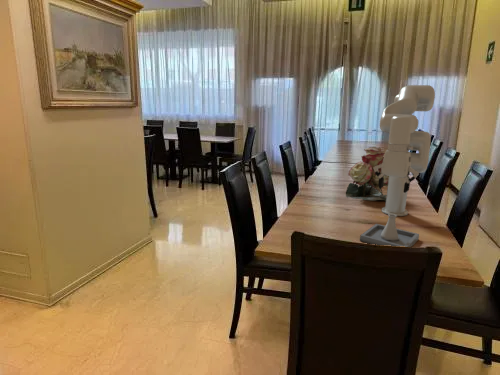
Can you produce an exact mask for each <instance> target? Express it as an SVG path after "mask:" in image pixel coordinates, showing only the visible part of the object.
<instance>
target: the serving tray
mask: <svg viewBox="0 0 500 375" xmlns="http://www.w3.org/2000/svg"><path fill="white" fill-rule="evenodd" d="M385 226H386V225H384V224H379V223H375V224H374V225H372V226H371V227H370V228H368V229H367V230H365V231H363V233H361V235H360V236H359V242H363V243H366V244H369V243H370V244H369V245H372V244H377V245H391V246H405V247H411V246H412V247H413V246H414V245H415V244H416V243H417V242H418V241H419V238H420V233H416V232H412V231H409V230H408V231H407V230H404V229H400V228H397V227H396V229H397V234H398V237H399V240H395V241H391V240H385V239H383V238H381V233H382V231H383V230H384V228H385ZM412 247H411V248H412Z"/></svg>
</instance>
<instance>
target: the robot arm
mask: <svg viewBox="0 0 500 375" xmlns="http://www.w3.org/2000/svg"><path fill="white" fill-rule="evenodd" d="M435 95H436V93H435V88H434V87H433V85H432V86H431V85H430V84H429V85H428V84H420V85H419V84H415V85H414V84H411V85H406V86H403V87H402V88H401V89H400V91H399V93H398V94H397V95H396V96H394V99H393V103H391V104H389V105H387V106H386V107H385V108H384V109H383V111H382V113H381V117H380V119H379V120H380V121H379V129H380V131H382V132H383V133H389V136H388V143H387V144H388V145H387V149H386V150H385V152H384V153H385V154H384V156H383V157H384V159H383V163H382V164H381V165H378V166H375V167H373V169H374V171H375V174H376V175H377V176H378V178H379V182H378V186H379V188H381V189H382V188H384V186H383V184H384V178H383V176H385V175H387V176H389V180H388V187H387V189H386V195H387V196H386V201H385V205H384V206H383V207H381V212H382V213H383V214H386V215H388V214H394V215H396V216H397V217H404V216H405V217H406V216H408V214H409V211H408V210H407V209H406V207H407V198H408V192H409V190H410V187H411V186H410V185H411V182H413V181H414V180H415V179H416V178H417V177H418V176H419V175H420V174H422V173H425V172H426V171H427V169H428V163H429V159H430V149H431V141H432V140H431V139H432V138H431V134H430V133H429V132H428V131H425V130H424V131H422V130H418V127H419V119H418V117H417V115H414V113H415V112H430V111H431V110H432V109H433V107H434V104H435V99H436V97H435ZM410 151H416V152H410ZM381 167H382V169H381V173H380V172H379V171H378V168H381ZM410 174H413V175H412V177H410Z"/></svg>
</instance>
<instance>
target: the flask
mask: <svg viewBox="0 0 500 375" xmlns="http://www.w3.org/2000/svg"><path fill="white" fill-rule="evenodd" d="M387 215H388V220H387V222H386V225H384V226H385V228H384V230H383V231H382V233H381V238H383V239H385V240H391V241H395V240H399V237H398V234H397V229H398V228H397V226H396V225H397V223H396V219H397V217H398V216H396V215H394V214H387ZM396 228H397V229H396Z"/></svg>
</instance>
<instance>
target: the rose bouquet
mask: <svg viewBox="0 0 500 375" xmlns="http://www.w3.org/2000/svg"><path fill="white" fill-rule="evenodd" d="M382 150H383V148H382V147H381V146H379V147H376V146H370V147H367V148H364V149H363V151H364V152H365V153H366V154H363V155H361V161H358V162H356V163H355V164H354V165H353V166H351V167H350V170H348V173H347V176H348V177H350V178H351V180H352V182H349V183H348V186H347V187H346V190H345V197H347V198H349V199H352V200H354V199H361V200H364V201H368V202H373V201H384V202H386V197H387V194H385V195H384V193H383V189H382V188H379V186H378V182H379V178H378V176H377V175H376V174H375V171H374V169H373V167H375V166H378V165H381V164H382V163H383V159H384V155H385V152H384V151H382ZM381 169H382V167H381V168H378V171H379V172H380V173H381ZM383 178H384V184H383V187H385V188H386V187H387V188H388V180H389V176H387V175H385V176H383Z"/></svg>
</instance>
